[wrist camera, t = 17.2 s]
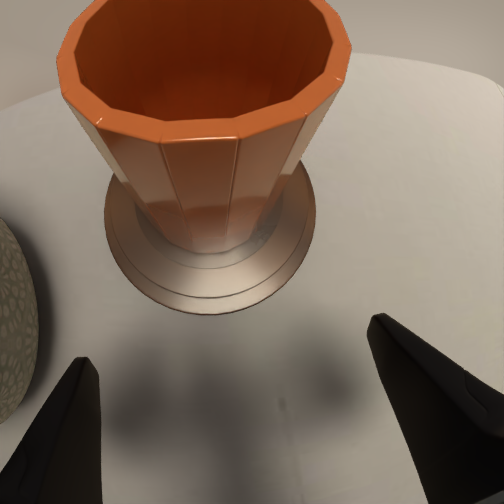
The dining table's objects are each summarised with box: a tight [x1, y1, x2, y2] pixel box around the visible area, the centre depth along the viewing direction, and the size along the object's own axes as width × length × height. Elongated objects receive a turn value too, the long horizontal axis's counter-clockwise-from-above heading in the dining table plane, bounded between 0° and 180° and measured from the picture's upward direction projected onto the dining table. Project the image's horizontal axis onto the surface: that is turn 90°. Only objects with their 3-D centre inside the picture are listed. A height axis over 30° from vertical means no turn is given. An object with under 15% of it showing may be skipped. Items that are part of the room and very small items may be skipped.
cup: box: [56, 0, 352, 254], centre depth 12 cm, size 7×7×12 cm
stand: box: [104, 160, 316, 315], centre depth 19 cm, size 14×14×3 cm
